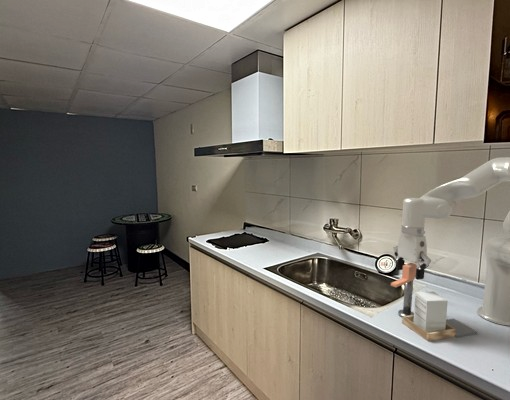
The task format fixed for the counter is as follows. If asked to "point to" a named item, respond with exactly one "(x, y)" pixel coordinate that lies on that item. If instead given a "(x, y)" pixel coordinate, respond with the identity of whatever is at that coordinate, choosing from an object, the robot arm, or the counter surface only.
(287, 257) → the counter surface
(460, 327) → the coaster
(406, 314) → the post
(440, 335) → the frame
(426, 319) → the white drawer cabinet
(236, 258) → the counter surface
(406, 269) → the lever
